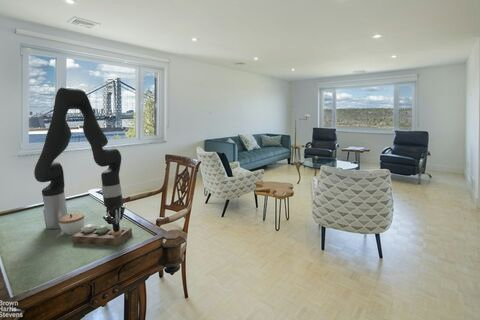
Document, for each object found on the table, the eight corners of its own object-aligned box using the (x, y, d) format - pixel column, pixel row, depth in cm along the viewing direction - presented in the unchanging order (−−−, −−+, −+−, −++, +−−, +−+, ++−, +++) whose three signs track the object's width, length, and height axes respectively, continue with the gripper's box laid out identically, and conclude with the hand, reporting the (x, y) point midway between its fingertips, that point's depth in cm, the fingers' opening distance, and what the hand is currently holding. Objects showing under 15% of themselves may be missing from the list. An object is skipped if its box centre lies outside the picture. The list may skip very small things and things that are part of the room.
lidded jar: (59, 238, 126) (56, 219, 124) (61, 230, 135) (58, 212, 133) (85, 233, 130) (83, 215, 129) (86, 225, 140) (83, 208, 138)
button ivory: (81, 232, 123) (80, 227, 123) (88, 228, 127) (87, 223, 127) (89, 233, 122) (89, 228, 122) (96, 229, 127) (95, 224, 126)
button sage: (95, 233, 122) (94, 228, 122) (101, 229, 126) (100, 224, 126) (103, 234, 121) (103, 229, 121) (110, 229, 126) (109, 225, 125)
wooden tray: (73, 243, 121) (72, 235, 120) (90, 232, 132) (89, 225, 131) (118, 245, 117) (117, 238, 117) (132, 234, 128) (131, 227, 127)
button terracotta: (109, 237, 121) (108, 232, 121) (115, 233, 125) (115, 228, 125) (118, 238, 120) (117, 233, 120) (124, 234, 125) (123, 229, 124)
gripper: (113, 189, 126) (118, 224, 129) (94, 198, 114) (99, 237, 117) (128, 190, 125) (132, 225, 128) (110, 199, 112) (115, 238, 115)
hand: (116, 231), depth 122 cm, fingers closed
